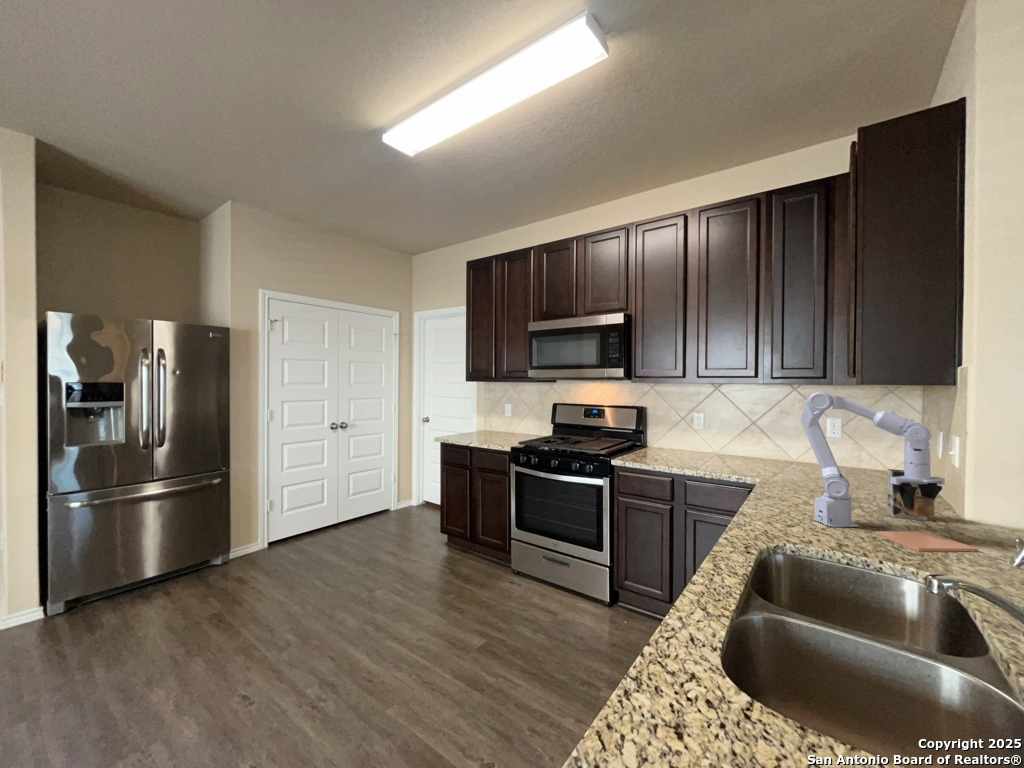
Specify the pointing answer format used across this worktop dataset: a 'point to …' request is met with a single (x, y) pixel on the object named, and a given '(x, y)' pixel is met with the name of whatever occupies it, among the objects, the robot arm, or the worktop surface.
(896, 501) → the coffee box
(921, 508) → the walnut cube
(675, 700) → the worktop surface
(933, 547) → the terracotta tile
